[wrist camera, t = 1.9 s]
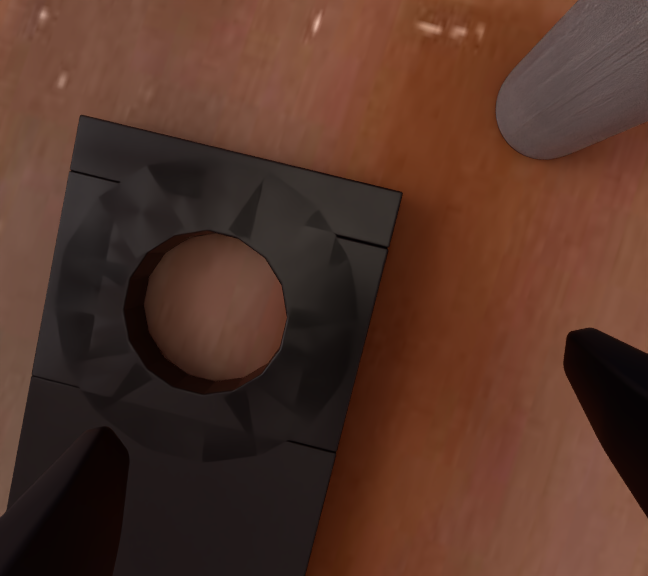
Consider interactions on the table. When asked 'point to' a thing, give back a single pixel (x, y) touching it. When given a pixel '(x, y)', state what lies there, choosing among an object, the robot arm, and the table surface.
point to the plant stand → (193, 392)
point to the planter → (579, 81)
